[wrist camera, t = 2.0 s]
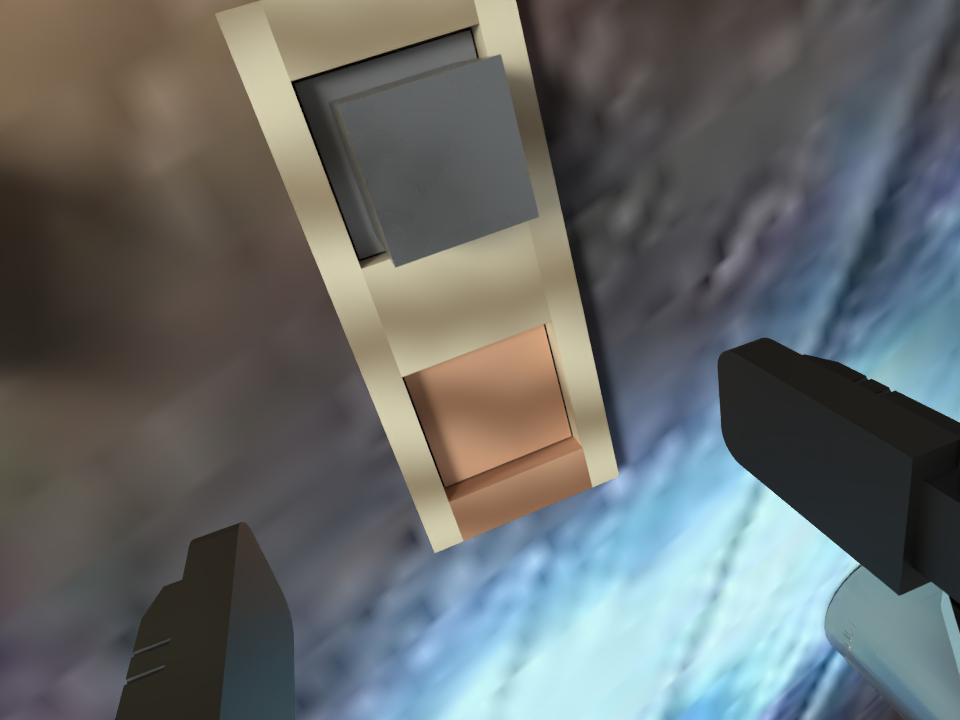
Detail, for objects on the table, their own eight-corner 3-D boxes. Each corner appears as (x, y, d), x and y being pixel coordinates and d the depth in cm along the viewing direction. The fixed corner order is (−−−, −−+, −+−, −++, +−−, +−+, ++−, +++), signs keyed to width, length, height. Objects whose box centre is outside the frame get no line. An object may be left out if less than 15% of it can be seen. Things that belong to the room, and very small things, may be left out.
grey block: (454, 62, 24) (501, 53, 19) (488, 191, 26) (539, 216, 21) (327, 102, 23) (338, 105, 18) (373, 231, 26) (395, 267, 20)
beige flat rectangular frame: (218, 17, 22) (214, 13, 21) (491, -62, 23) (500, -69, 22) (430, 537, 32) (434, 552, 31) (608, 464, 33) (619, 476, 32)
